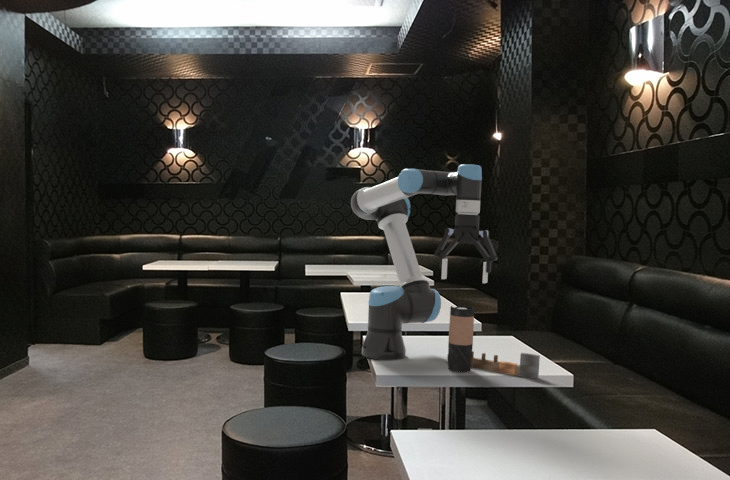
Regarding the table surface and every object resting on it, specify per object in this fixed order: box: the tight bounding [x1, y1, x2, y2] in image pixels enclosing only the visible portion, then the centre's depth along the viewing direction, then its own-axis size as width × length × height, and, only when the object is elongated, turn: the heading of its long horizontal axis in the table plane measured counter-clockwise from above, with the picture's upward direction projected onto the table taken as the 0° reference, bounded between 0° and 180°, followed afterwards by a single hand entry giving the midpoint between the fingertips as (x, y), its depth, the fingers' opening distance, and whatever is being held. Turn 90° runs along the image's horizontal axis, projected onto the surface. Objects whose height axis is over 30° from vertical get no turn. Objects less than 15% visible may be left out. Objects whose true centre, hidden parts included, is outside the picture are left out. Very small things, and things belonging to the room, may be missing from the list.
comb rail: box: [446, 350, 541, 380], centre depth 193 cm, size 30×2×7 cm, turn 61°
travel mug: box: [447, 305, 475, 373], centre depth 191 cm, size 8×8×20 cm
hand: (464, 281), depth 191 cm, fingers open, 13 cm apart
